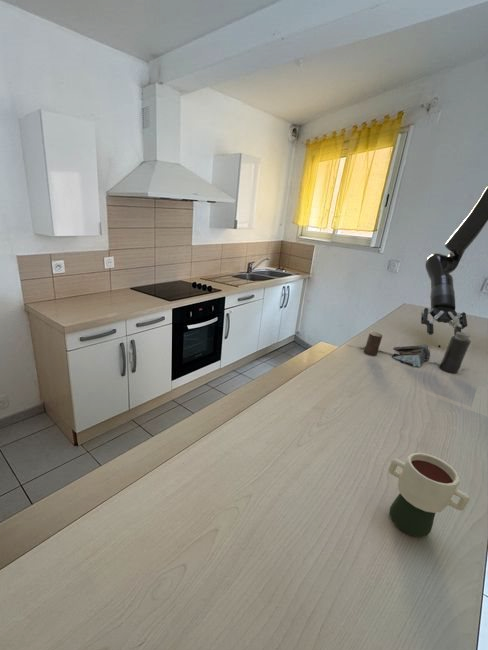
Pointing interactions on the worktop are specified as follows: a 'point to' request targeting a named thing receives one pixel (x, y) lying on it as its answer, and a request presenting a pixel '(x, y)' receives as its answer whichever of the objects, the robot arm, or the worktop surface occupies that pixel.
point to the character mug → (423, 492)
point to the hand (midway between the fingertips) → (444, 335)
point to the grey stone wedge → (412, 354)
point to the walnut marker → (373, 343)
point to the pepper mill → (455, 352)
